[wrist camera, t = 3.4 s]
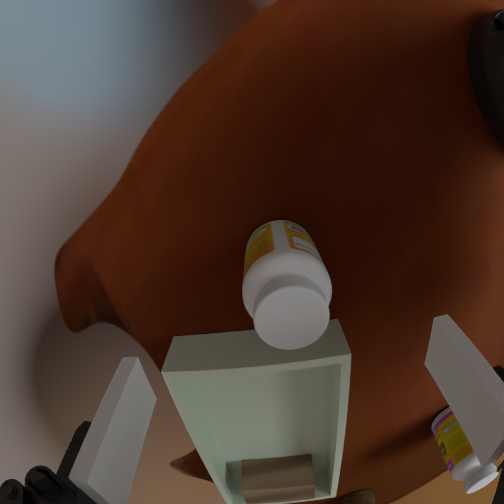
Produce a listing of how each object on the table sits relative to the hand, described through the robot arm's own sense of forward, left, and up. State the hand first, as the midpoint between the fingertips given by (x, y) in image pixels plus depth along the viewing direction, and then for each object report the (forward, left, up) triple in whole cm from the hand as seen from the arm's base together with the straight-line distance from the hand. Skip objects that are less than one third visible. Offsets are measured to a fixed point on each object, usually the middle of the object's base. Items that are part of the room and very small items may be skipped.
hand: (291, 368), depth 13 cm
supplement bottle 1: (0, 0, -14) cm, 14 cm away
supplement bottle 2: (+28, +22, -14) cm, 38 cm away
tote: (+21, -3, -13) cm, 25 cm away
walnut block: (+30, -3, -13) cm, 33 cm away
